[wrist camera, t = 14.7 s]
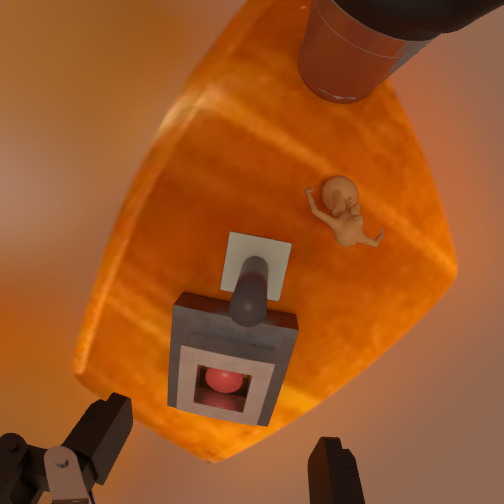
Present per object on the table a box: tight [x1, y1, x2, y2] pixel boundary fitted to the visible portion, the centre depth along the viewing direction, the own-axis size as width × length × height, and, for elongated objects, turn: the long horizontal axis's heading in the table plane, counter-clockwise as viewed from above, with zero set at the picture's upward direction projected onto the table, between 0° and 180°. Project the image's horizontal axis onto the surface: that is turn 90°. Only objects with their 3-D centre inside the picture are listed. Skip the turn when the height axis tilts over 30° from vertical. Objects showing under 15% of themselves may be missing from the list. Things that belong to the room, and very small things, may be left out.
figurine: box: [305, 176, 384, 247], centre depth 26 cm, size 8×6×12 cm
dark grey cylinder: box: [229, 256, 268, 327], centre depth 29 cm, size 3×3×11 cm
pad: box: [220, 231, 292, 301], centre depth 34 cm, size 7×7×1 cm
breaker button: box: [206, 367, 243, 393], centre depth 35 cm, size 4×4×4 cm
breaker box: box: [167, 292, 299, 427], centre depth 34 cm, size 16×14×7 cm
